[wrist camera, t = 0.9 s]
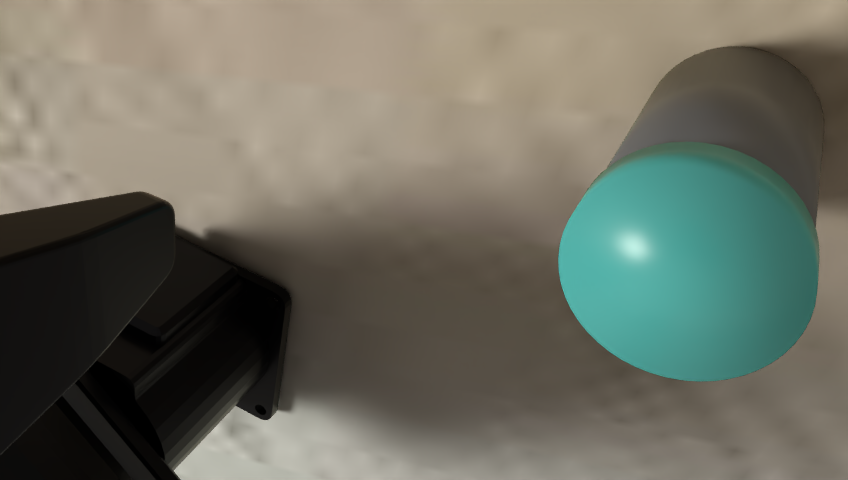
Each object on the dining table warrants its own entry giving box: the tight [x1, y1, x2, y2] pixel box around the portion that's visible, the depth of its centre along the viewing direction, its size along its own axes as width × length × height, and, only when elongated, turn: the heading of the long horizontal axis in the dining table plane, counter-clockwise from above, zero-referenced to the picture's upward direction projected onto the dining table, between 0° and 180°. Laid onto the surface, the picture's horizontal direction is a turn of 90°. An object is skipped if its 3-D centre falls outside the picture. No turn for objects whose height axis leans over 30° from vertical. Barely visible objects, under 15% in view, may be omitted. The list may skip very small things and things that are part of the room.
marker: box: [558, 47, 824, 381], centre depth 16 cm, size 4×4×7 cm
